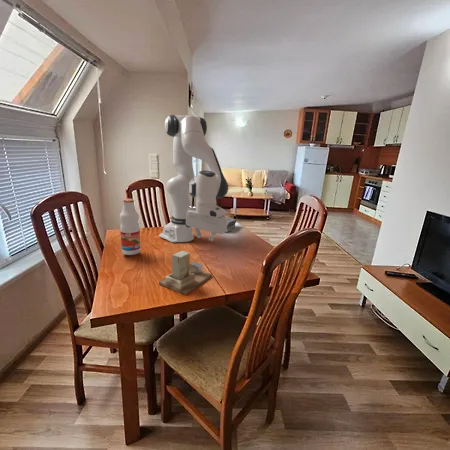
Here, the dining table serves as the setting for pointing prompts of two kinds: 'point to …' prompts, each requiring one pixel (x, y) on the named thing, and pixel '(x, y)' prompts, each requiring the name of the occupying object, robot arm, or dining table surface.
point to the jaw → (195, 267)
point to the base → (185, 282)
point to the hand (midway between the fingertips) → (205, 238)
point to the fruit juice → (129, 228)
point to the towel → (230, 224)
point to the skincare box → (180, 265)
